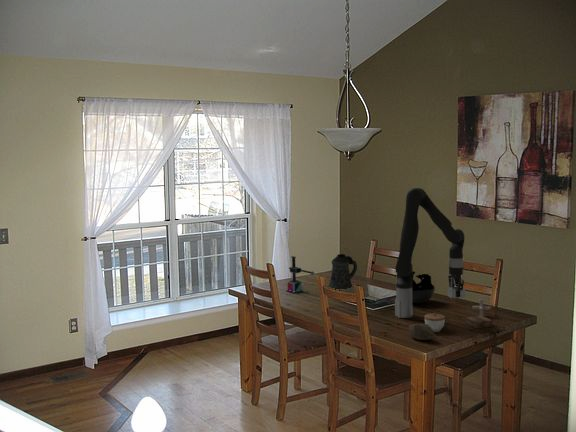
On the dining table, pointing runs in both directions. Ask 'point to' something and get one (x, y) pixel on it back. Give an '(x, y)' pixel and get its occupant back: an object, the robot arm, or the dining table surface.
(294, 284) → the magnetic base gauge holder
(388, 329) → the dining table surface
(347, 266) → the beer stein
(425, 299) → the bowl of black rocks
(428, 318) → the lidded jar
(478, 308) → the pipe connector
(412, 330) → the stone
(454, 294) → the housing
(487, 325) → the stand
